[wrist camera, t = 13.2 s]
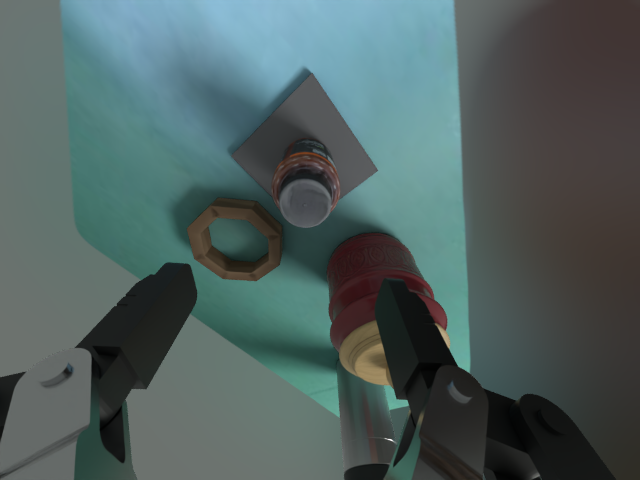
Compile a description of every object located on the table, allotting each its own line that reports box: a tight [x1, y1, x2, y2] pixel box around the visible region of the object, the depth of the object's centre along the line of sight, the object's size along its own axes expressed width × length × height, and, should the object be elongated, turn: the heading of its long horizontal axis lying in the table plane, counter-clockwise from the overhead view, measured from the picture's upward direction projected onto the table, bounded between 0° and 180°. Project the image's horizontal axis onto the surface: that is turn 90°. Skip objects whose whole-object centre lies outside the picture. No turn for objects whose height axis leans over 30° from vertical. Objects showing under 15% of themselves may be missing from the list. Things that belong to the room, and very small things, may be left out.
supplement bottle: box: [271, 138, 340, 228], centre depth 22 cm, size 6×6×11 cm
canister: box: [327, 233, 450, 389], centre depth 28 cm, size 13×13×18 cm
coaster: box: [231, 73, 378, 199], centre depth 27 cm, size 12×12×1 cm
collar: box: [187, 198, 282, 281], centre depth 31 cm, size 12×12×2 cm
